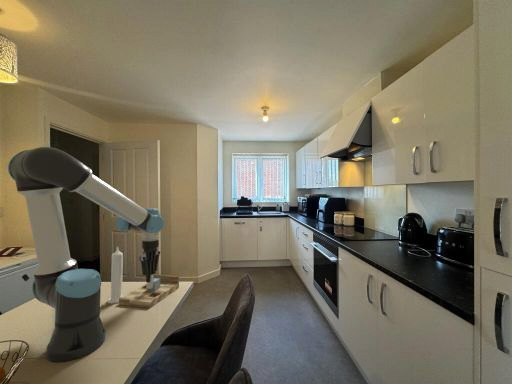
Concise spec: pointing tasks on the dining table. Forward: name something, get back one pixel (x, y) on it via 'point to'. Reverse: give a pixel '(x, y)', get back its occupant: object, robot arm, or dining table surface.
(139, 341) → the dining table surface
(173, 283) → the board
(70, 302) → the robot arm
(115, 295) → the candle
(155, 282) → the block
